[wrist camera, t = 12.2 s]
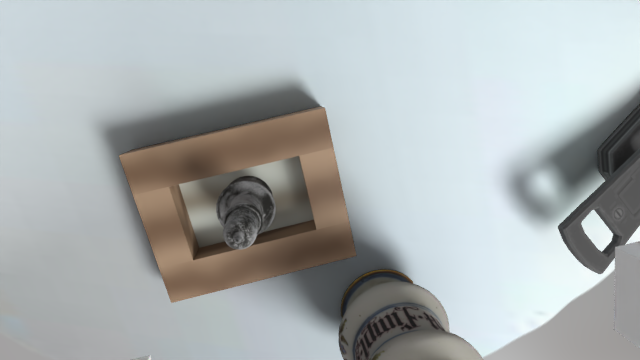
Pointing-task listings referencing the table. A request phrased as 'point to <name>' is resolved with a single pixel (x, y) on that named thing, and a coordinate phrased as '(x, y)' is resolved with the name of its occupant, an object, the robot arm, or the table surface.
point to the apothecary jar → (396, 322)
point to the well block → (217, 173)
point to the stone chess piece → (245, 211)
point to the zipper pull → (610, 197)
